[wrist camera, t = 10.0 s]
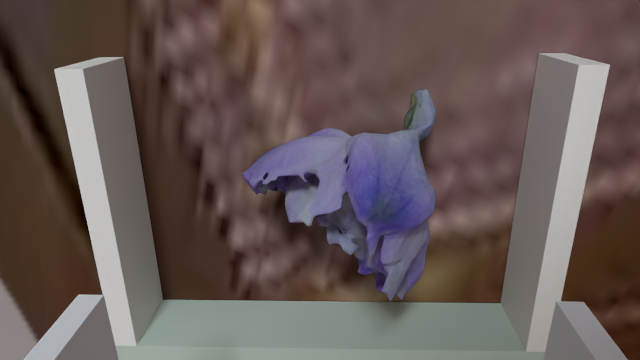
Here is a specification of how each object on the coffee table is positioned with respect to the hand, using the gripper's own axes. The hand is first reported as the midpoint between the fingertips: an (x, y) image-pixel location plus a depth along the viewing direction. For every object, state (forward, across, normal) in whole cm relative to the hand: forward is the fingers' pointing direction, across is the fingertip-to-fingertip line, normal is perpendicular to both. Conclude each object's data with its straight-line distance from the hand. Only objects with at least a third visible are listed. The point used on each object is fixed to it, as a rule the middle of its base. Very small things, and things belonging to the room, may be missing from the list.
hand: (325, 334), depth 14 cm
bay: (+12, 0, -1) cm, 12 cm away
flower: (+12, +1, +1) cm, 12 cm away
